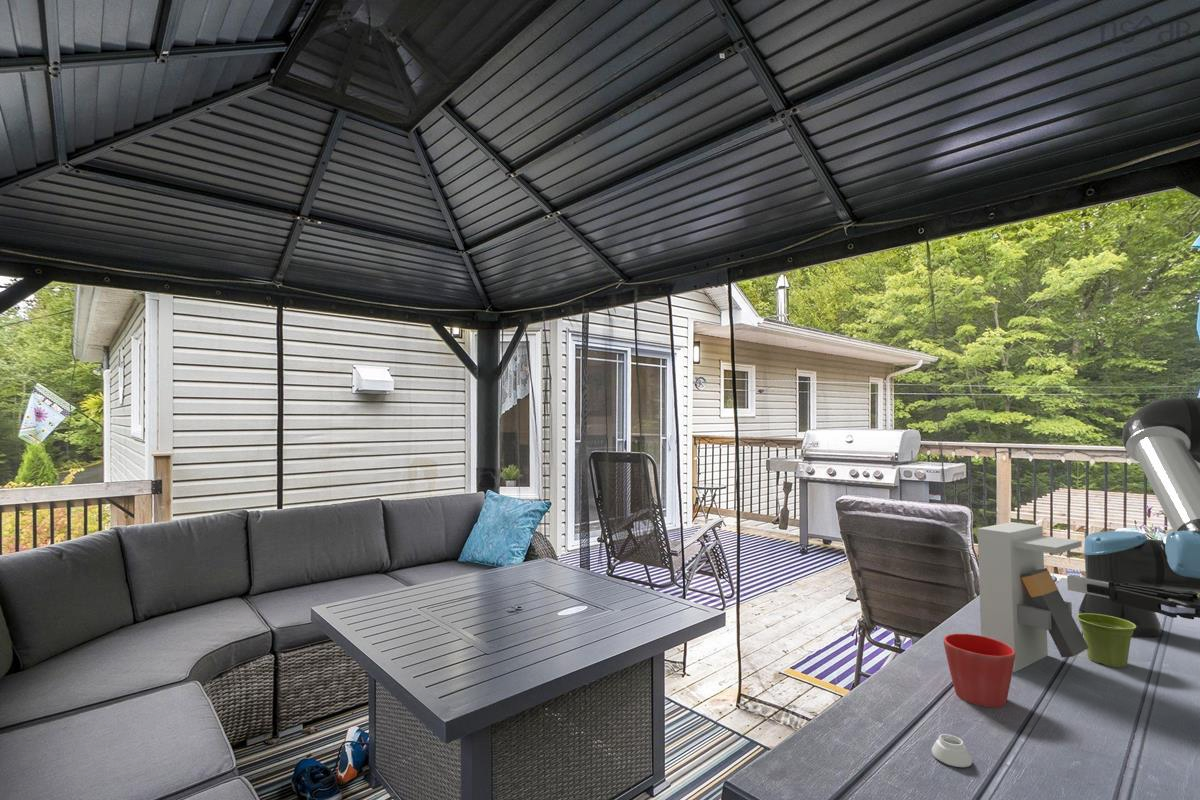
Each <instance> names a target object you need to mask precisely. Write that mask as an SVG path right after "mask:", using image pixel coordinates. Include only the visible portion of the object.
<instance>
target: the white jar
mask: <svg viewBox="0 0 1200 800" xmlns="http://www.w3.org/2000/svg"><path fill="white" fill-rule="evenodd" d="M964 744H965V743H964V741H963V740H962V739H961V738H960V737H957V736H955V735H953V734H948V733H943V734H942V733H941V734H940V735H939V736H938V739H936V740H935V743H934V744H933V745H932V747H931V754H932V755H933V756H934V758H935V759H937V760H938V761H940V762H941V763H943V764H945V765H947V766H951V767H956V768H968V767H970V766H972V764H973V760H972V759H973V758H972V757H971V755H970V753H969V750H968V749H967V746H965V745H964Z"/></svg>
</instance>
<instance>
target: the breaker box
mask: <svg viewBox="0 0 1200 800" xmlns="http://www.w3.org/2000/svg"><path fill="white" fill-rule="evenodd" d="M1043 532H1044V531H1043V525H1039V524H1029V523H1021V522H1014V521H1009V522H1004V523H998V524H994V525H988V526H984V527H978V528H977V547H978V548H977V552H978V553H977V555H978V578H979V586H978V588H979V607H980V608H979V613H980V636H984V637H988V638H992V639H995V640H998V641H1001V642H1003V643H1005V644H1007V645H1009V646H1010V647H1012V648H1013V649H1014V651H1015V660H1014V666H1013V671H1012V673H1016V672H1019V671H1020V670H1022V669H1025V668H1026V667H1028V666H1030V665H1032V664H1034V663H1036V662H1038V661H1039V660H1042V659H1044V658H1045V657H1047V656H1048V653H1049V652H1048V651H1049V650H1048V634H1047V633H1048V630H1050V629H1052V624H1051V611H1049V610H1044V609H1040V608H1037V607H1036V605H1035V603H1034V601H1033V599H1032V597H1031V596H1030V594H1029V592H1028V590H1027V588H1026V586H1025V584H1024V582H1023V580H1022V578H1021V576H1020V575H1022V574H1025V573H1029V572H1032V571H1035V570H1039V569H1044V568H1045V559H1044V557H1045V556H1044V555H1045V553H1047V554H1048V553H1049V554H1055V555H1058V554H1061V553H1064V552H1068V551H1071V550H1075V549H1079V548H1081V547H1083V546H1082V545H1083V543H1082V540H1079V539H1070V538H1063V537H1057V536H1056V537H1054V536H1048V535H1044V533H1043ZM1064 602H1065V604H1066V606H1067V608H1068V609H1069V611H1070V613H1071V615H1072V616H1073V612H1072V609H1073V606H1072V602H1070V601H1066V600H1064Z"/></svg>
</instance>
